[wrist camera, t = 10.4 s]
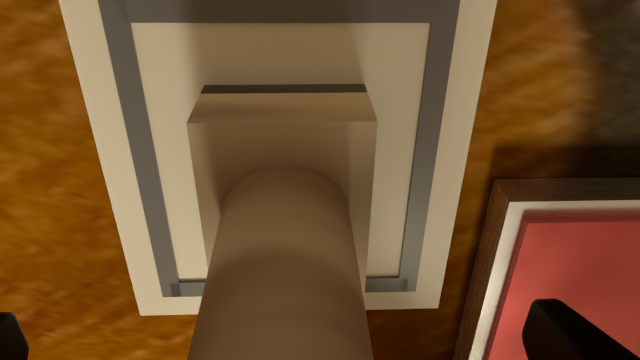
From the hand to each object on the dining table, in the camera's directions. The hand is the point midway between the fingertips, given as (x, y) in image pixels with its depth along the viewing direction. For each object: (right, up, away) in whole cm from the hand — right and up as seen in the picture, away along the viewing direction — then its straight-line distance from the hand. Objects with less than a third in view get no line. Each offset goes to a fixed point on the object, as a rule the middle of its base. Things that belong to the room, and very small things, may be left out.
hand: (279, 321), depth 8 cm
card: (0, +3, +5) cm, 6 cm away
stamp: (0, +3, +5) cm, 6 cm away
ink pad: (+9, -1, +8) cm, 12 cm away
